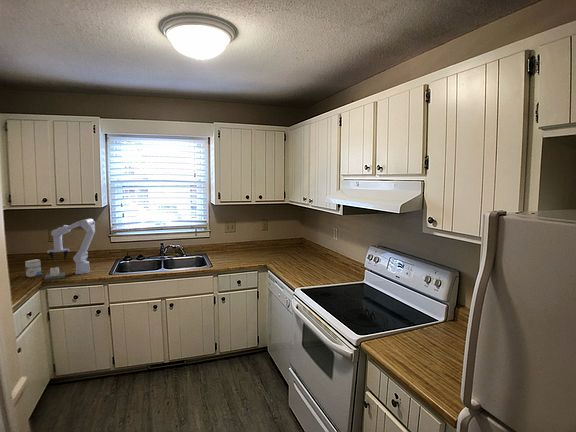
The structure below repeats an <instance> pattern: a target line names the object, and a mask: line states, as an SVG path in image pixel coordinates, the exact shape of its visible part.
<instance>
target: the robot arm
mask: <svg viewBox="0 0 576 432" xmlns="http://www.w3.org/2000/svg"><path fill="white" fill-rule="evenodd" d="M78 227H81V228H82V229H83V230H84V231H85V232H86V233H85V235H84V238H83V241H82V242H81V245H80V247H79V250H78V251H76V254H75V255H74V256H73V259H72V260H73V261H74V263H75V273H74V274H75V275H81V274H82V275H83V274H89V273H90V271H91V268H90V261H88V260H87V259H88V256H89V255H88V254H89V252H88V249H89V247H90V245H91V242H92V240H93V238H94V235H95V233H96V221H95V220H94V218H90V217H89V218H86V219H81V220H78V221H76V222H73V223H72V224H70V225H67V224H63V225H62V226H60V227H57V228H56V229H53V230H51V233H50V234H51V236H52V238H53V239H52V240H53V249H48V250H47V251H46V253H47V254H48V255H49V256H50V259H51V260H52V262H53V263H55V258H54V253H62V252H63V256H64V257H63V258H64V261H66V259H67V255H68V253H69V252H71V251H70V248H64V246H63V235H65V234H67V233H70V232H71V230H73V229H75V228H78Z"/></svg>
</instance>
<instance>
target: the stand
mask: <svg viewBox="0 0 576 432" xmlns="http://www.w3.org/2000/svg"><path fill="white" fill-rule="evenodd" d="M65 275H66V272H59V276H52V277H50V273H48V274H45V276H44V277H43V278H44V281H53V280H61V279H64V278H65V277H66V276H65Z"/></svg>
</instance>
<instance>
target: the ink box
mask: <svg viewBox="0 0 576 432" xmlns="http://www.w3.org/2000/svg"><path fill="white" fill-rule="evenodd" d="M24 265H25V274H26V275H25V276H26V277H28V278H32V277H35V276H40V275H42V265H41V259H31V260H25V264H24Z"/></svg>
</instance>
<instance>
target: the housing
mask: <svg viewBox="0 0 576 432" xmlns="http://www.w3.org/2000/svg"><path fill="white" fill-rule="evenodd" d="M59 273H60V267H59V266H58V267H57V266H56V267H50V269H49V274H50V277H52V276H59Z"/></svg>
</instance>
